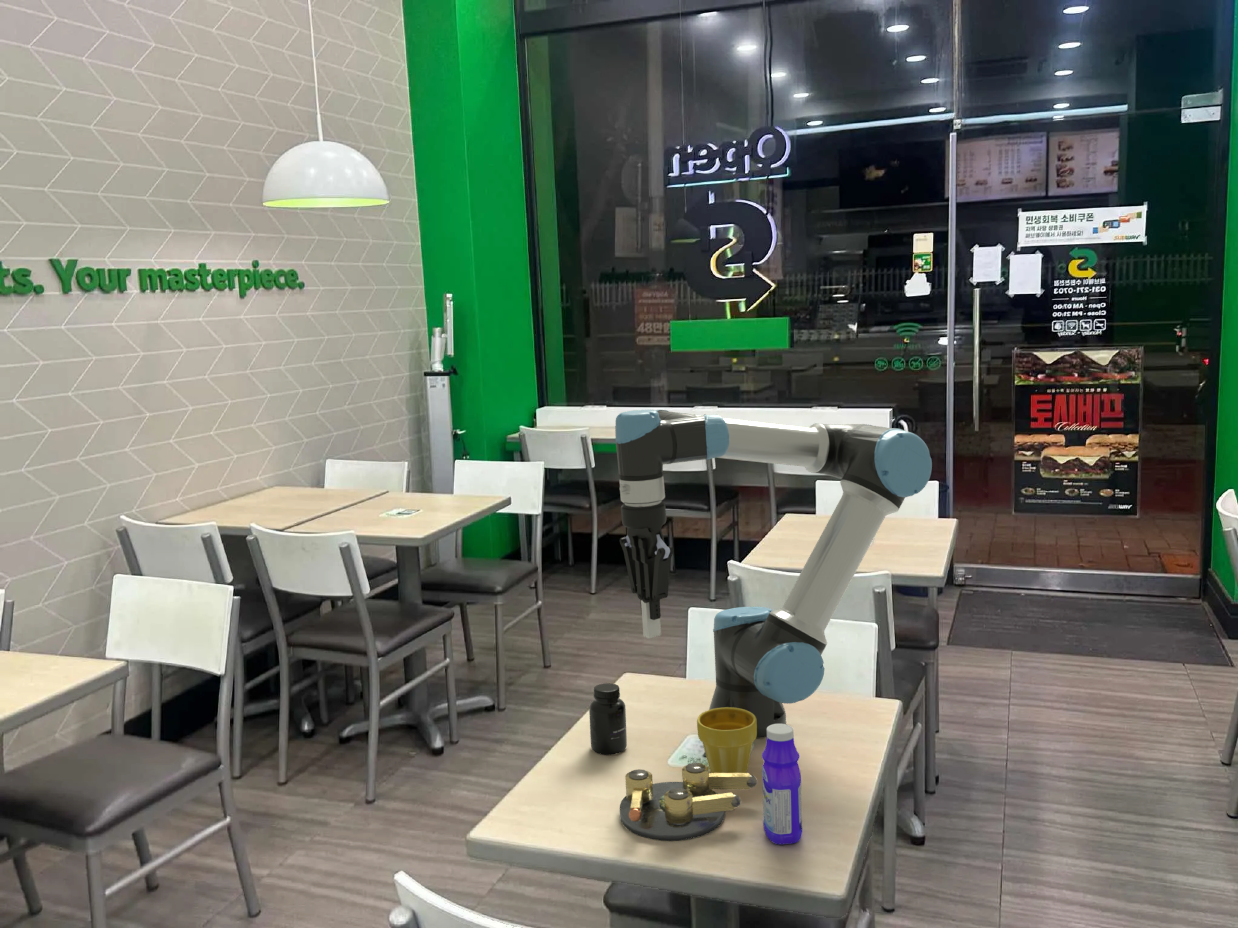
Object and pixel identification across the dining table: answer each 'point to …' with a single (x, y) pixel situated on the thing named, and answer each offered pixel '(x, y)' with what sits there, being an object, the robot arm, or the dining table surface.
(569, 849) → the dining table surface
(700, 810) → the knob
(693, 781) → the knob left
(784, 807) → the bottle
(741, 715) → the plant pot
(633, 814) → the knob
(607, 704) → the supplement bottle
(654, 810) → the tribrach plate
